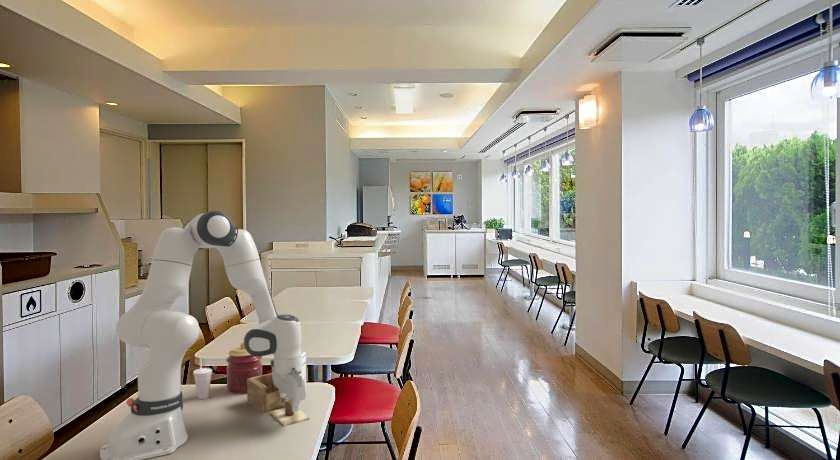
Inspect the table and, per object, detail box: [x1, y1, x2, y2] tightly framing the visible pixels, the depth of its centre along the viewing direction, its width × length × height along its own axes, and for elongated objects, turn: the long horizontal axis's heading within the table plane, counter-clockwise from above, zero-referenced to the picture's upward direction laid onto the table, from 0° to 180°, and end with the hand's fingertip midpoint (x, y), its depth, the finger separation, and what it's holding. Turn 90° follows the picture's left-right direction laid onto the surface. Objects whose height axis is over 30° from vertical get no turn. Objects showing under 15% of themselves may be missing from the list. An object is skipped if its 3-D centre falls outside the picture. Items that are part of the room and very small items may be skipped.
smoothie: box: [192, 358, 213, 400], centre depth 188 cm, size 6×6×14 cm
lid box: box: [246, 372, 292, 414], centre depth 181 cm, size 11×14×8 cm
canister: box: [225, 341, 263, 395], centre depth 196 cm, size 13×13×18 cm
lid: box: [269, 401, 310, 427], centre depth 170 cm, size 8×13×5 cm
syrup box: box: [300, 351, 307, 389], centre depth 192 cm, size 6×6×14 cm
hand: (289, 406), depth 170 cm, fingers open, 8 cm apart
